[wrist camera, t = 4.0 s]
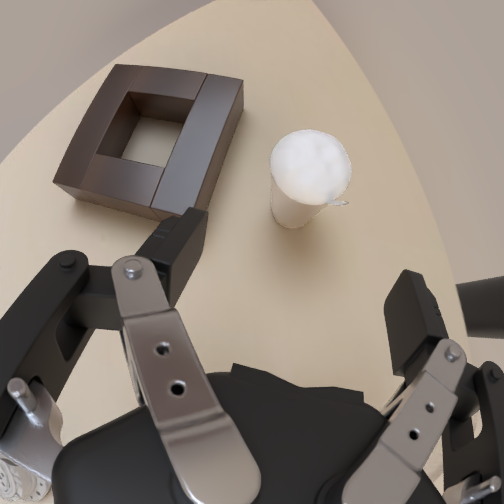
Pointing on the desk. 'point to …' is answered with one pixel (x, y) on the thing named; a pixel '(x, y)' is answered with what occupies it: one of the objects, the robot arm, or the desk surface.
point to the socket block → (183, 154)
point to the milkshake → (307, 176)
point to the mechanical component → (20, 484)
